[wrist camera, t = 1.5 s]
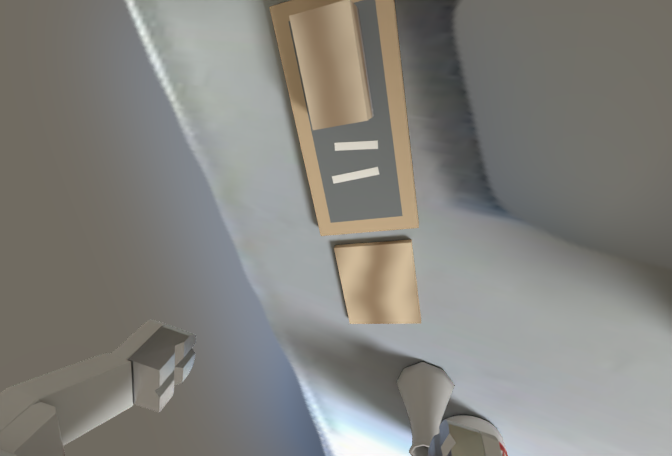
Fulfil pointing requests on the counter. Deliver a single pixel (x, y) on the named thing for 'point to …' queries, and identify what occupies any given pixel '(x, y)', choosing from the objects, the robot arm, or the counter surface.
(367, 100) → the block
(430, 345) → the counter surface
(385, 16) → the chalkboard
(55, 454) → the robot arm
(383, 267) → the pad
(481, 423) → the fruit juice
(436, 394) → the flask
